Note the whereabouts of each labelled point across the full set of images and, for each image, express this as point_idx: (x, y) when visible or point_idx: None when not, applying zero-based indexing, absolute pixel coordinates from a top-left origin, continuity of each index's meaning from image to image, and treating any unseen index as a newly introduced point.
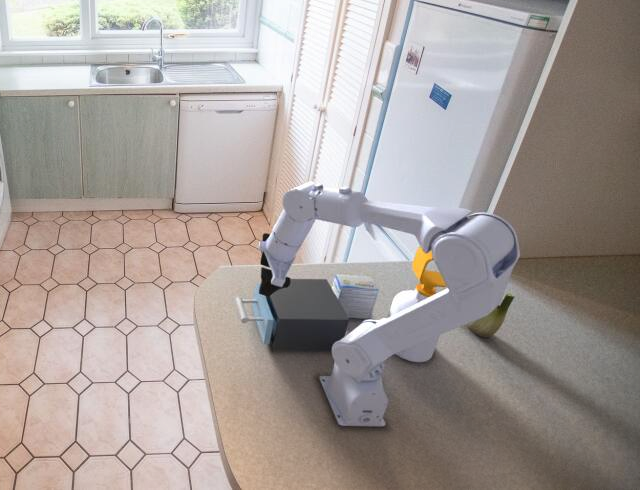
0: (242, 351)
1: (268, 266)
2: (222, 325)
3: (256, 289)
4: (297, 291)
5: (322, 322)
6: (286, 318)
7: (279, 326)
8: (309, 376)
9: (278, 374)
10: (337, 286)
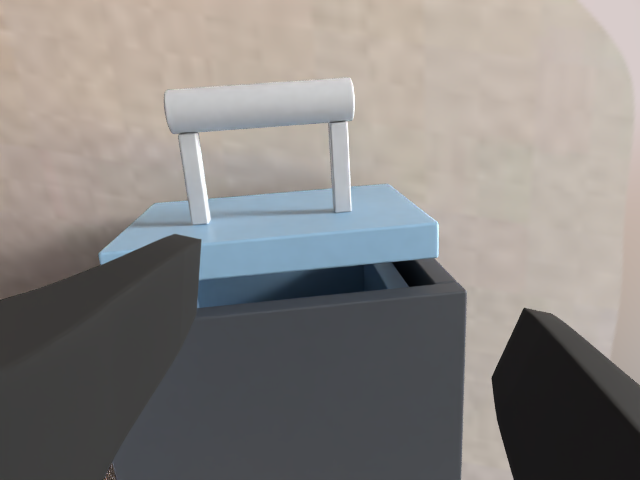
0: (119, 99)
1: (498, 373)
2: (272, 16)
3: (392, 222)
4: (350, 463)
5: None
6: None
7: None
8: None
9: (26, 240)
10: None
